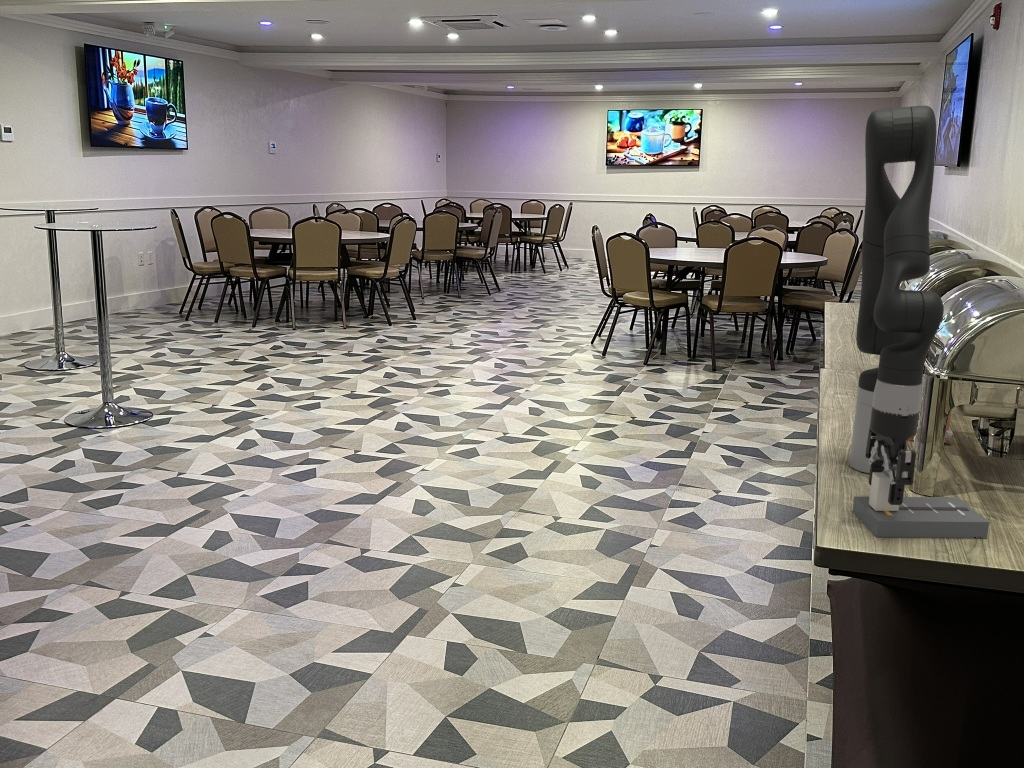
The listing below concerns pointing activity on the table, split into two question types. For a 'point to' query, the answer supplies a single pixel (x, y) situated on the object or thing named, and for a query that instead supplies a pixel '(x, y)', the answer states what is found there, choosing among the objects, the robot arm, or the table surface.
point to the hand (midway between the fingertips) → (884, 494)
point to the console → (923, 518)
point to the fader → (881, 492)
